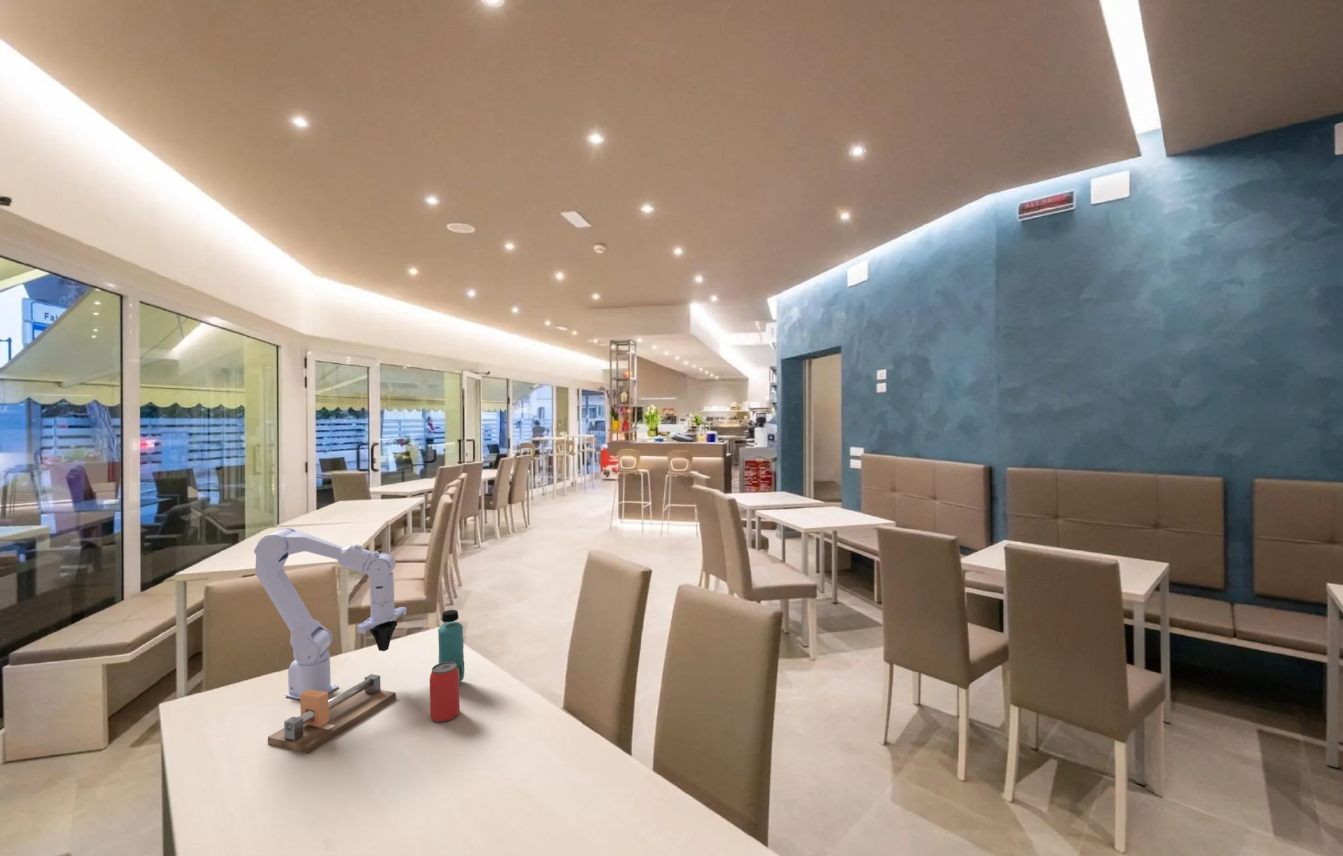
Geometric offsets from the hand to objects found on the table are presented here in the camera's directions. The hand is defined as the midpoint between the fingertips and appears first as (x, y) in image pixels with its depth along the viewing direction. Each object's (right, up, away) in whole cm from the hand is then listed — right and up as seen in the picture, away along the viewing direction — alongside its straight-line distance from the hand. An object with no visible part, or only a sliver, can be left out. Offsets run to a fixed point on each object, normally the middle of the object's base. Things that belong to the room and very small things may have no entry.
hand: (383, 649), depth 148 cm
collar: (-4, -8, -22) cm, 24 cm away
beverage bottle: (+19, -9, -1) cm, 21 cm away
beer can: (+23, -10, -16) cm, 30 cm away
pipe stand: (-2, -8, -17) cm, 19 cm away
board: (-2, -10, -17) cm, 20 cm away
